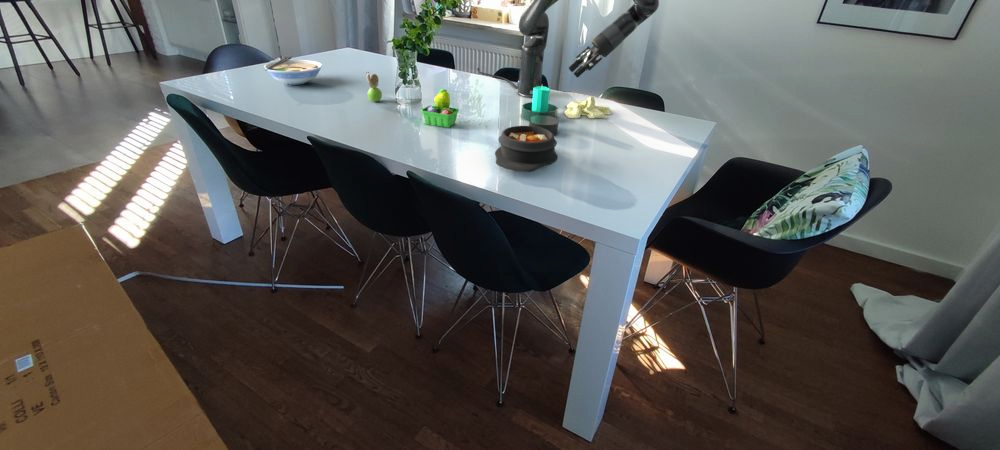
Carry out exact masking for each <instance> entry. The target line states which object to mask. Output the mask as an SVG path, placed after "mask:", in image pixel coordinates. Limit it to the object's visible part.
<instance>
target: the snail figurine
mask: <svg viewBox="0 0 1000 450" xmlns="http://www.w3.org/2000/svg"><path fill="white" fill-rule="evenodd" d="M365 73H366V80H367V83H368V86H369V87H370V88H369V89H368V91H367V97H368V100H370V101H371V102H375V103H377V102H380V101H381V99H382V97H383V93H382V90H381V89H380V88H379V87H378V86H379V76H378V75H377V74H375V73H373V74H371V75H370V72H369V71H365Z"/></svg>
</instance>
